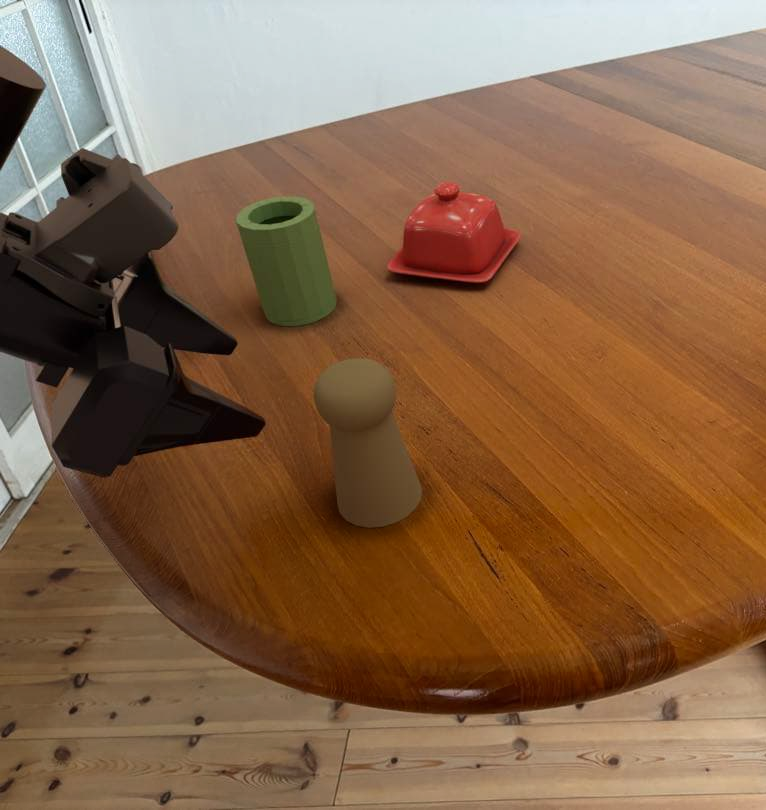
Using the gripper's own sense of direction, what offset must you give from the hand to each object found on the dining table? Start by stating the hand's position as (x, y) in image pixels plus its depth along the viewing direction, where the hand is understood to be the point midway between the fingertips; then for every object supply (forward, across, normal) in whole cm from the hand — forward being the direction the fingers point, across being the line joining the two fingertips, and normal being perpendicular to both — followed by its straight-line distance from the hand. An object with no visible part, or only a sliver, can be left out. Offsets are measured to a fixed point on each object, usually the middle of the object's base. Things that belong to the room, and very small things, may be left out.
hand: (247, 385), depth 49 cm
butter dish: (+26, +30, -8) cm, 41 cm away
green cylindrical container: (+14, +30, +4) cm, 33 cm away
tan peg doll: (+13, 0, +4) cm, 14 cm away
